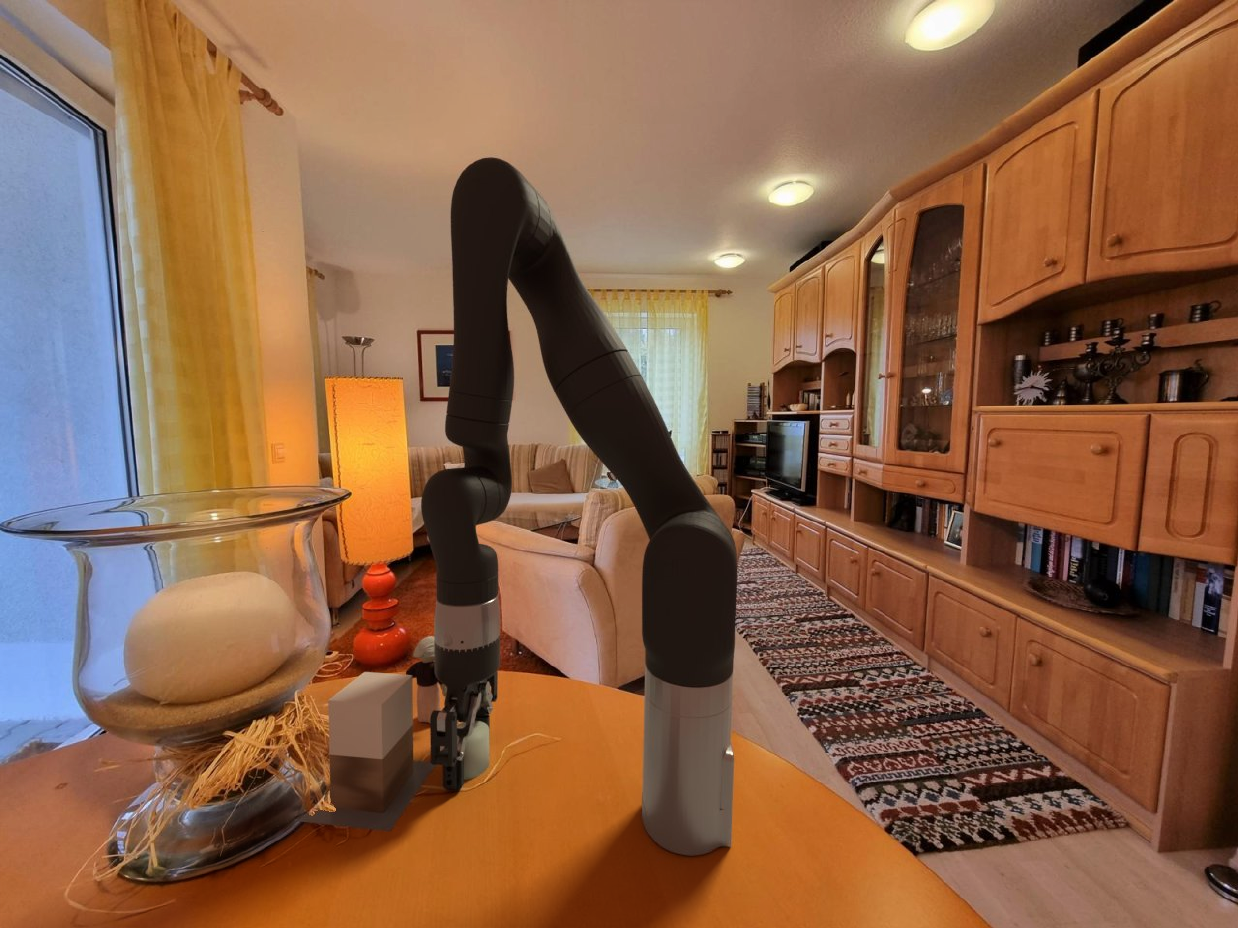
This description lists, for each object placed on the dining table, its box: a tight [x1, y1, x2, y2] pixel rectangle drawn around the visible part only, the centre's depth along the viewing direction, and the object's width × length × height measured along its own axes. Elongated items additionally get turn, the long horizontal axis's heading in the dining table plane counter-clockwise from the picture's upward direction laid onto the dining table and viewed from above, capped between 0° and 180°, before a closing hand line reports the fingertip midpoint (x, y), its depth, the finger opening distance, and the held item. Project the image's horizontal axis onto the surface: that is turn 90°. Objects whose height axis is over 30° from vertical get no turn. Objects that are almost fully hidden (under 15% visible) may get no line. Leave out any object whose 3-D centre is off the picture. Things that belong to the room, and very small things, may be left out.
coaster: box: [298, 759, 437, 832], centre depth 53 cm, size 10×10×1 cm
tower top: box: [327, 671, 414, 759], centre depth 52 cm, size 6×6×6 cm
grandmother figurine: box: [405, 635, 447, 724], centre depth 66 cm, size 8×4×13 cm, turn 82°
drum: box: [457, 721, 490, 781], centre depth 57 cm, size 5×5×5 cm
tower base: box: [329, 724, 414, 813], centre depth 53 cm, size 6×6×6 cm
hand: (467, 763), depth 57 cm, fingers open, 7 cm apart
